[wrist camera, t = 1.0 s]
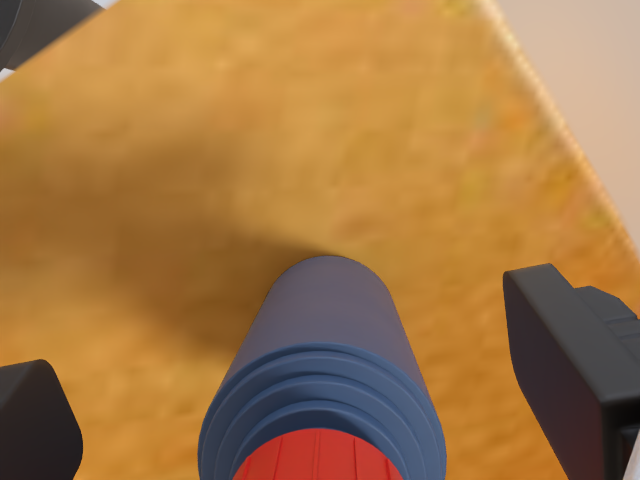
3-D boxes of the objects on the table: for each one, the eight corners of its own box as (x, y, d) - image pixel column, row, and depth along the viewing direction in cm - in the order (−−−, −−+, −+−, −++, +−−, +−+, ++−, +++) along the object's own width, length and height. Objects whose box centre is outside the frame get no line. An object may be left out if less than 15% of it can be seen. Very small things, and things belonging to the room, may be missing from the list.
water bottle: (236, 302, 28) (38, 583, 9) (348, 229, 27) (369, 376, 9) (310, 410, 28) (260, 870, 10) (421, 340, 28) (585, 695, 9)
